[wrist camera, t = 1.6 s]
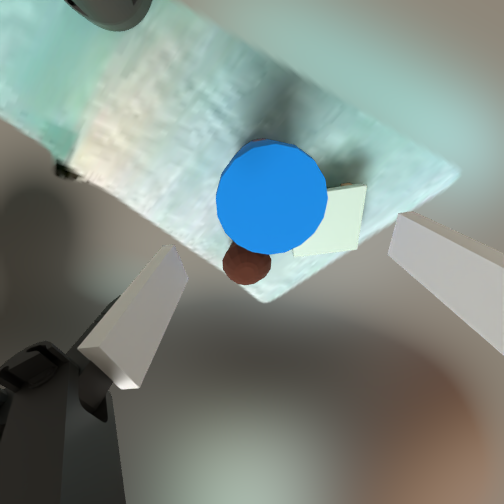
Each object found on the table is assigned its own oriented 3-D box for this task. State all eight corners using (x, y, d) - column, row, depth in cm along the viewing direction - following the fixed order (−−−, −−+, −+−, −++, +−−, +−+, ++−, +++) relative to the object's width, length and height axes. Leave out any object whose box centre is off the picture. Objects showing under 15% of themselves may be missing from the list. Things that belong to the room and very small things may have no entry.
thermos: (225, 178, 40) (195, 225, 19) (251, 126, 35) (250, 110, 14) (268, 203, 43) (285, 270, 22) (297, 158, 38) (355, 187, 17)
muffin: (237, 222, 45) (233, 242, 37) (277, 240, 48) (282, 263, 39) (219, 259, 51) (213, 283, 42) (256, 273, 53) (256, 299, 45)
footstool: (286, 189, 41) (291, 197, 36) (352, 179, 40) (367, 185, 35) (289, 244, 48) (294, 257, 43) (345, 237, 47) (356, 249, 42)
